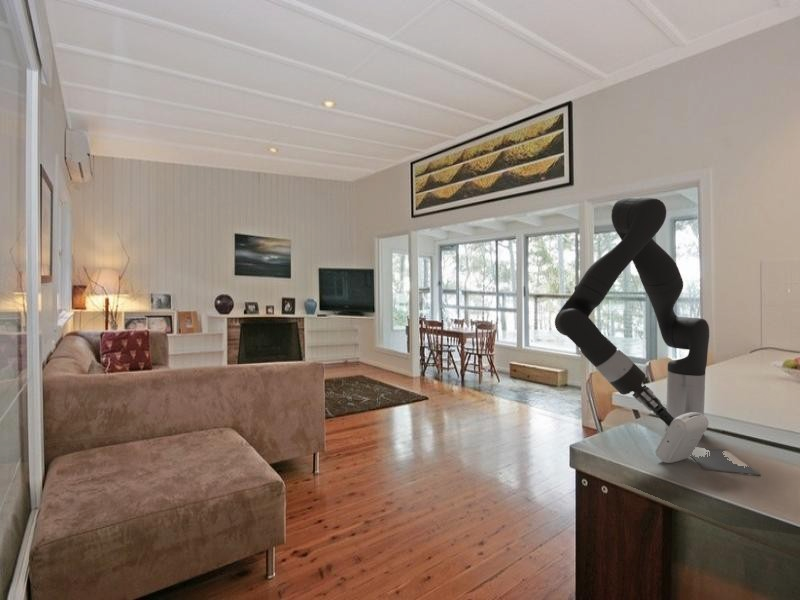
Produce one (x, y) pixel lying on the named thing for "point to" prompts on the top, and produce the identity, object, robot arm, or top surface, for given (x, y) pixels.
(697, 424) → the photo printer
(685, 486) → the top surface
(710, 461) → the charcoal mat
